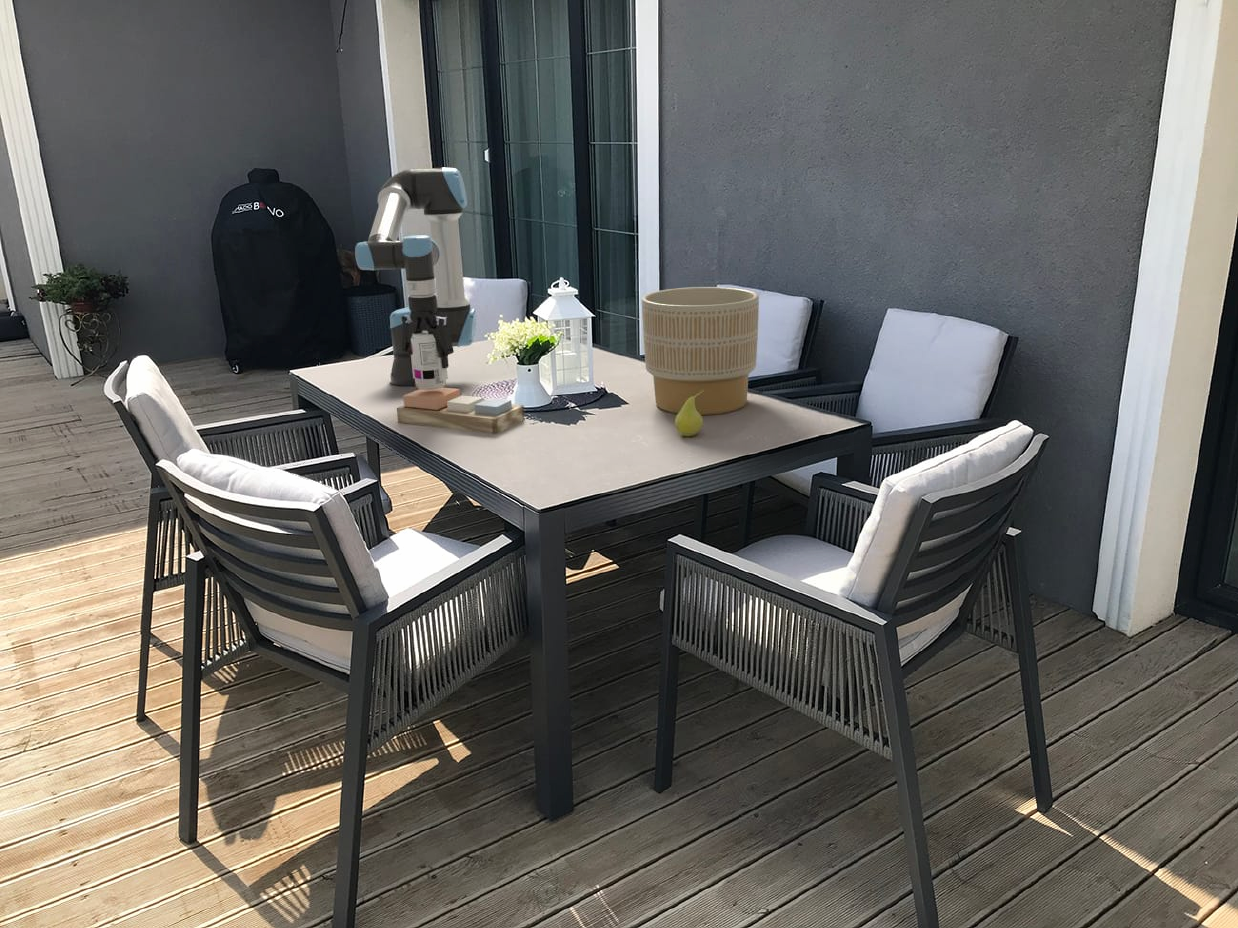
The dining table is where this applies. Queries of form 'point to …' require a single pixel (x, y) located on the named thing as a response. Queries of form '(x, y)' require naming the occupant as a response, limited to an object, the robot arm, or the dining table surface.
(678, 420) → the fruit
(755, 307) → the planter
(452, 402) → the key ivory
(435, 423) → the wooden compartment tray
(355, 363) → the dining table surface
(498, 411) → the key slate
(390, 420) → the dining table surface
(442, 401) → the key terracotta
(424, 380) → the supplement can
